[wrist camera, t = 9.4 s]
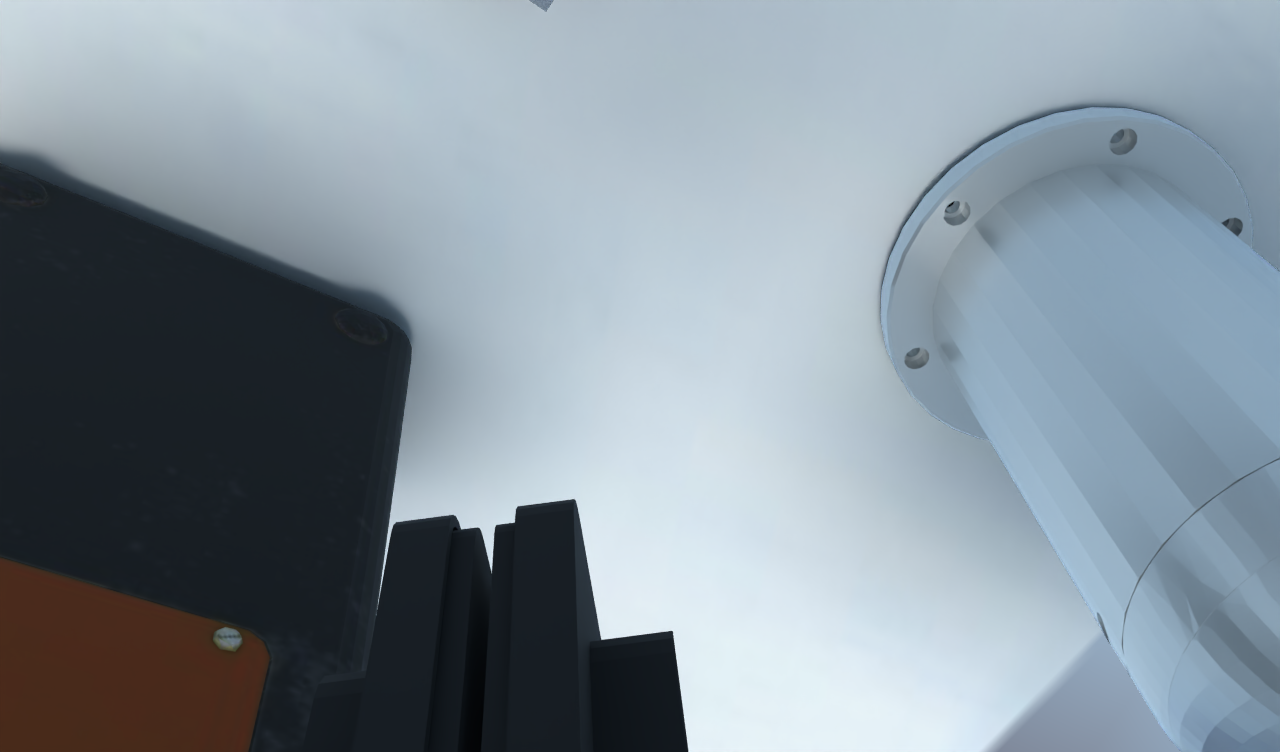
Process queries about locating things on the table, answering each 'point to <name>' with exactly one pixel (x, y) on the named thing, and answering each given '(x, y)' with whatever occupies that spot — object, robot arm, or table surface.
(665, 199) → the table surface
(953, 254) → the robot arm
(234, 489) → the voltmeter
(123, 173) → the table surface
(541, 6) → the grey base plate
